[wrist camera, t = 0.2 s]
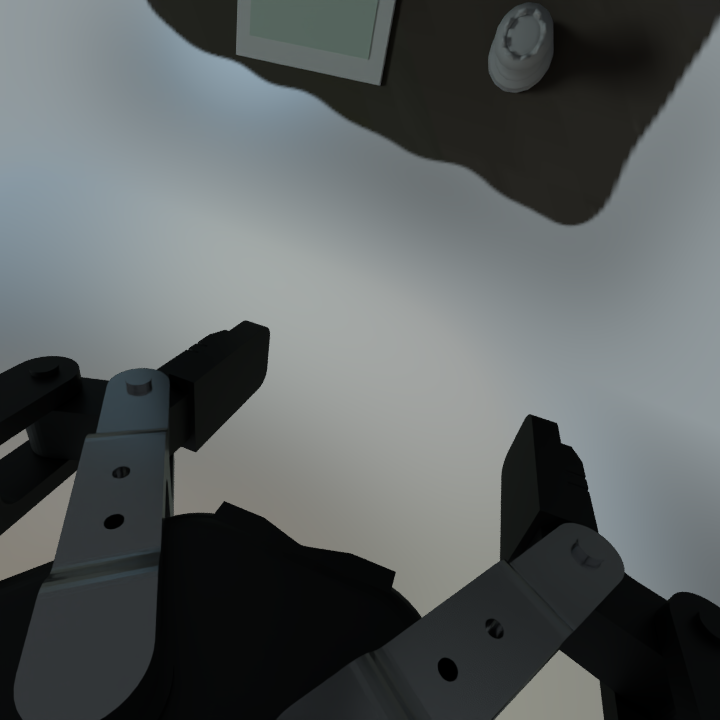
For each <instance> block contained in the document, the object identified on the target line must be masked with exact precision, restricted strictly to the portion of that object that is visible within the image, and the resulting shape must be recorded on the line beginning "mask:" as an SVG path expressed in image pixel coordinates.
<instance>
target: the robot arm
mask: <svg viewBox="0 0 720 720" xmlns="http://www.w3.org/2000/svg"><path fill="white" fill-rule="evenodd" d="M269 340H270V331H269V329H268V328H267V327H265V326H261V325H258V324H255V323H252V322H249V321H243V322H241V323H240V324H238V325H237V326H236V327H234V328H233V329H231V330H230V331H227V330H223V331H220V332H217V333H213V334H210V335H208V336H206V337H205V338H203V339H202V340H200V341H199V342H198V344H195V345H193V346H191V347H190V348H189V350H185V351H184V352H183V353H181V354H180V355H178V356H176V357H175V358H173V359H172V360H170V361H169V362H168V363H166V364H165V365H163V366H161V367H160V368H159V369H157V370H154V369H148V368H138V369H131V370H127V371H124V372H121V373H119V374H117V375H115V376H114V377H113V378H111V379H110V381H106V380H99V379H91V378H83V377H81V375H80V370H79V366H78V364H77V363H76V362H75V361H73V360H72V359H69V358H66V357H59V356H47V357H40V358H35V359H31V360H28V361H25V362H23V363H21V364H19V365H17V366H15V367H13V368H11V369H9V370H7V371H5V372H3V373H1V374H0V445H1V444H3V443H4V442H6V441H7V440H9V439H10V438H11V437H13V436H15V435H16V434H18V433H19V432H21V431H22V430H24V429H26V431H27V434H28V437H29V440H28V441H26V442H25V443H24V444H22V445H21V446H19V447H18V448H17V449H15V450H13V451H12V452H11V453H9V454H8V455H6V456H5V457H3V458H2V459H0V535H1V534H3V533H4V532H5V531H6V530H7V529H9V528H10V527H11V526H12V525H13V524H14V523H16V522H17V521H18V520H19V519H20V518H21V517H23V516H24V515H25V514H26V513H27V512H28V511H30V510H31V509H32V508H33V507H34V506H36V505H37V504H38V503H39V502H40V501H41V500H42V499H44V498H45V497H46V496H47V495H48V494H50V493H51V492H52V491H53V490H54V489H55V488H57V487H58V486H59V485H60V484H61V483H63V482H64V481H65V480H66V479H67V478H68V477H70V476H71V475H72V474H73V473H74V472H75V471H77V473H76V477H75V481H74V485H73V489H72V493H71V497H70V501H69V505H68V508H67V513H66V516H65V520H64V524H63V528H62V532H61V536H60V540H59V544H58V548H57V551H56V555H55V559H54V561H51V562H49V563H46V564H43V565H41V566H38V567H36V568H33V569H30V570H28V571H25V572H23V573H20V574H17V575H15V576H12V577H9V578H7V579H4V580H1V581H0V720H495V718H496V717H497V716H498V715H499V714H500V713H501V712H502V711H503V710H504V709H505V707H506V706H507V705H508V704H509V703H510V702H511V701H512V700H513V699H514V698H515V697H516V695H517V694H518V693H519V692H520V691H521V690H522V689H523V688H524V687H525V686H526V685H527V684H528V683H529V681H531V679H532V678H533V677H534V676H535V675H536V674H537V673H538V672H539V671H540V670H541V669H542V668H543V667H544V665H545V664H546V663H547V662H548V661H549V660H550V659H551V658H552V657H553V656H554V655H555V654H556V653H557V652H558V650H561V651H562V652H563V653H565V654H566V655H567V656H569V657H570V658H571V659H572V660H574V661H575V662H576V663H578V664H579V665H580V666H582V667H583V668H584V669H586V670H587V671H588V672H590V673H591V674H592V675H593V676H595V677H596V678H597V679H599V680H600V688H601V697H602V705H603V714H604V720H720V608H719V607H718V606H717V605H715V604H714V603H712V602H710V601H709V600H707V599H705V598H703V597H701V596H699V595H696V594H693V593H689V592H679V593H676V594H674V595H673V596H672V597H671V598H670V599H669V600H668V601H667V600H665V599H664V598H662V597H661V596H659V595H658V594H656V593H654V592H653V591H651V590H650V589H648V588H647V587H645V586H643V585H642V584H640V583H638V582H637V581H636V580H634V579H632V578H631V577H630V576H628V575H627V574H626V573H625V572H624V565H623V562H622V559H621V557H620V556H619V554H618V552H617V551H616V550H615V548H614V547H613V546H612V545H611V544H610V543H609V542H608V541H607V540H606V539H605V538H604V537H603V536H601V535H600V534H599V533H598V528H597V524H596V520H595V516H594V511H593V507H592V502H591V498H590V494H589V492H588V485H587V481H586V479H585V477H586V476H585V472H584V468H583V463H582V461H581V460H580V458H579V457H578V455H577V454H576V453H575V451H574V450H573V449H572V447H571V446H567V445H565V444H562V443H561V440H560V435H559V429H558V425H557V423H555V422H552V421H549V420H546V419H542V418H540V417H537V416H534V415H531V414H529V415H528V416H527V417H526V418H525V420H524V422H523V424H522V426H521V428H520V430H519V432H518V433H517V435H516V437H515V439H514V441H513V444H512V445H511V447H510V449H509V451H508V453H507V456H506V458H505V461H504V464H503V468H502V476H501V481H502V482H501V538H500V561H499V562H498V563H497V564H495V565H493V566H492V567H491V568H490V569H488V570H487V571H485V572H484V573H483V574H481V575H480V576H478V577H477V578H476V579H474V580H473V581H472V582H470V583H469V584H468V585H466V586H465V587H463V588H462V589H461V590H459V591H458V592H457V593H455V594H454V595H452V596H451V597H450V598H449V599H447V600H446V601H444V602H443V603H442V604H440V605H439V606H437V607H436V608H435V609H433V610H432V611H431V612H429V613H428V614H427V615H425V616H424V617H423V618H422V617H421V616H420V614H419V613H418V612H417V610H416V609H415V608H414V607H413V606H412V605H411V603H410V602H409V601H408V600H407V599H405V598H404V597H403V596H402V595H401V594H400V593H399V592H398V591H396V590H395V589H394V588H392V584H393V580H394V577H395V573H396V572H395V571H392V570H390V569H387V568H385V567H382V566H380V565H377V564H375V563H373V562H370V561H368V560H366V559H363V558H361V557H358V556H356V555H353V554H351V553H344V552H337V551H331V550H325V549H318V548H312V547H306V546H303V545H300V544H298V543H297V542H296V541H294V540H293V539H292V538H290V537H289V536H287V535H286V534H285V533H284V532H282V531H281V530H280V529H278V528H277V527H276V526H274V525H273V524H272V523H270V522H269V521H268V520H266V519H265V518H264V517H261V516H259V515H256V514H254V513H251V512H249V511H247V510H244V509H242V508H239V507H237V506H235V505H232V504H230V503H227V502H225V501H224V502H223V503H222V505H221V506H220V507H219V509H218V510H217V511H216V512H215V514H212V513H187V514H181V515H175V516H174V452H175V451H177V450H178V449H179V448H180V447H184V448H186V449H189V450H191V451H194V452H197V451H198V450H199V448H200V447H202V446H203V444H204V443H205V442H206V441H207V440H208V439H209V438H210V437H211V436H212V435H213V434H214V433H215V432H216V431H217V430H218V429H219V428H220V427H221V426H222V425H223V424H224V423H225V422H226V421H227V420H228V419H229V418H230V417H231V416H232V415H233V414H234V413H235V412H236V411H237V410H238V409H239V408H240V407H241V406H242V405H243V404H244V403H245V402H246V401H247V400H248V399H249V398H250V397H251V396H252V395H253V394H254V393H255V392H256V391H257V390H258V389H259V387H260V386H261V385H262V383H263V381H264V379H265V376H266V372H267V364H268V351H269Z"/></svg>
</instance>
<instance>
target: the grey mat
mask: <svg viewBox="0 0 720 720" xmlns="http://www.w3.org/2000/svg"><path fill="white" fill-rule="evenodd" d="M395 4H396V0H238V10H237V42H236V54H237V55H240V56H245V57H250V58H254V59H259V60H263V61H268V62H273V63H277V64H282V65H287V66H291V67H296V68H301V69H305V70H310V71H315V72H319V73H324V74H328V75H333V76H338V77H342V78H347V79H352V80H356V81H361V82H366V83H370V84H375V85H380V86H381V81H382V76H383V70H384V65H385V59H386V54H387V48H388V43H389V37H390V32H391V26H392V21H393V15H394V10H395Z"/></svg>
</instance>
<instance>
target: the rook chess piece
mask: <svg viewBox="0 0 720 720" xmlns="http://www.w3.org/2000/svg"><path fill="white" fill-rule="evenodd" d="M553 52H554V44H553V20H552V18H551V16H550V13H549V11H548V10H547V9H546V8H544V7H543V6H542V5H540V4H538V3H531V2H527V3H524V4H521V5H518V6H516V7H514V8H513V9H512V10H511V11H510V12H508V13H507V14H506V15H505V16H504V18H503V20H502V21H501V23H500V24H499V26H498V28H497V32H496V36H495V39H494V40H493V42H492V46H491V49H490V53H489V57H488V66H489V74H490V76H491V78H492V80H493V82H494V84H496V85H497V86H498V87H499V88H501V89H502V90H503V91H508V92H513V93H517V92H521V91H524V90H528V89H529V88H531V87H532V86H534V85H535V84H536V83H538V82H539V81H540V80H541V79H542V77H543V76H544V74H545V73H546V72H547V70H548V69H549V66H550V63H551V60H552V57H553Z"/></svg>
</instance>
